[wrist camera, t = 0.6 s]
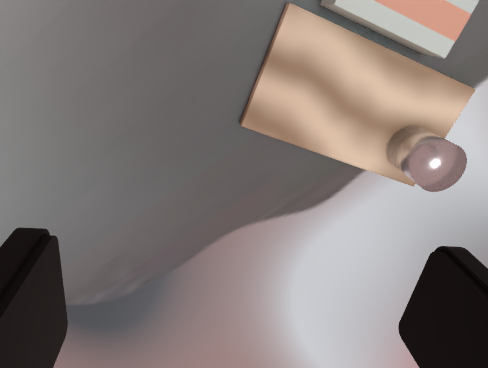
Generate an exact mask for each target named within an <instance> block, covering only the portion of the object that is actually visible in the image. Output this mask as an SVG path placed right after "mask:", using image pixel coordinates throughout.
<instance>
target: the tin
mask: <svg viewBox="0 0 488 368" xmlns="http://www.w3.org/2000/svg"><path fill="white" fill-rule="evenodd" d="M386 154H387V158H388V160H389V162H390V163H391V164H392V165H393V166H395V167H396V168H397V169H399V170H400V171H401V172H402V173H404V174H405V175H406V176H407V177H409V178H410V179H411V180H413V181H414V182H415V183H416V184H418V185H419V186H420V187H422V188H423V189H425V190H427V191H430V192H437V191H442V190H445V189H447V188H449V187H450V186H452V185H453V184H455V183H456V182H457V181H458V180H459V179H460V177H461V176H462V174H463V173H464V171H465V168H466V163H467V158H466V154H465V152H464V150H463V149H462V148H461V147H459V146H457V145H455V144H453V143H451V142H450V141H448V140H446V139H444V138H442V137H440V136H438V135H436V134H434V133H432V132H430V131H428V130H426V129H424V128H422V127H420V126H416V125H411V126H406V127H404V128H402V129H400V130H399V131H397V132H396V133H395V134H394V135H393V136H392V137H391V139H390V141H389V143H388V145H387V150H386Z"/></svg>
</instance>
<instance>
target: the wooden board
mask: <svg viewBox="0 0 488 368" xmlns="http://www.w3.org/2000/svg"><path fill="white" fill-rule="evenodd" d="M474 92H475V89H473V88H471V87H469V86H467V85H465V84H463V83H460V82H458V81H456V80H454V79H452V78H450V77H448V76H445V75H443V74H441V73H439V72H437V71H435V70H433V69H430V68H428V67H426V66H424V65H422V64H420V63H418V62H415V61H413V60H411V59H409V58H407V57H405V56H403V55H400V54H398V53H396V52H394V51H392V50H390V49H388V48H386V47H383V46H381V45H379V44H377V43H375V42H373V41H371V40H368V39H366V38H364V37H362V36H360V35H358V34H356V33H353V32H351V31H349V30H347V29H345V28H343V27H341V26H338V25H336V24H334V23H332V22H330V21H328V20H326V19H324V18H321V17H319V16H317V15H315V14H313V13H311V12H309V11H306V10H304V9H302V8H300V7H298V6H296V5H294V4H291V3H287V4H286V7H285V9H284V12H283V14H282V17H281V19H280V22H279V24H278V27H277V30H276V32H275V35H274V37H273V40H272V42H271V45H270V47H269V50H268V52H267V55H266V58H265V60H264V63H263V65H262V68H261V70H260V73H259V75H258V78H257V80H256V83H255V86H254V88H253V91H252V93H251V96H250V98H249V101H248V103H247V106H246V108H245V111H244V114H243V116H242V119H241V121H240V124H241V126H242V127H245V128H248V129H251V130H254V131H257V132H260V133H262V134H265V135H268V136H271V137H274V138H277V139H279V140H282V141H285V142H288V143H291V144H294V145H297V146H299V147H302V148H305V149H308V150H311V151H314V152H317V153H319V154H322V155H325V156H328V157H331V158H334V159H337V160H339V161H342V162H345V163H348V164H351V165H354V166H356V167H359V168H362V169H365V170H368V171H371V172H374V173H376V174H379V175H382V176H385V177H388V178H391V179H394V180H396V181H399V182H402V183H405V184H408V185H411V186H414V185H415V184H416V183H415V182H414V181H413V180H411V179H410V178H409V177H407V176H406V175H405V174H404V173H402V172H401V171H400V170H399V169H397V168H396V167H395V166H393V165H392V164H391V163H390V162H389V160H388V158H387V154H386V150H387V145H388V143H389V141H390V139H391V137H392V136H393V135H394V134H395V133H396V132H397V131H399V130H400V129H402V128H404V127H406V126H411V125H416V126H420V127H422V128H424V129H426V130H428V131H430V132H432V133H434V134H436V135H438V136H440V137H442V138H445V137H446V135H447V133H448V132H449V131H450V129H451V127H452V126H453V124H454V123H455V121H456V120H457V118H458V116H459V115H460V113H461V112H462V110H463V108H464V107H465V106H466V104H467V102H468V101H469V99H470V98H471V96H472V94H473V93H474Z"/></svg>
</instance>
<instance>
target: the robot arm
mask: <svg viewBox="0 0 488 368" xmlns="http://www.w3.org/2000/svg"><path fill="white" fill-rule="evenodd" d="M67 323H68V322H67V312H66V304H65V295H64V287H63V279H62V270H61V262H60V253H59V245H58V239H57V237H56V236H50V234H49V231H48V230H47V229H39V228H17V229H15V230H14V231H13V233H12V234H11V235H10V236H9V237H8V239H7V240H6V241H5V242H4V243H3V245H2V246H1V247H0V368H53V366H54V364H55V361H56V359H57V356H58V354H59V352H60V349H61V346H62V344H63V341H64V339H65V336H66V332H67ZM399 334H400V336H401V338H402V340H403V342H404V343H405V345H406V346H407V348H408V350H409V351H410V353H411V355H412V356H413V358H414V360H415V361H416V363H417V365H418V366H419V367H420V368H488V269H487V268H486V267H485V266H484V265H483V264H482V263H481V262H480V261H479V260H478V259H476V258H475V257H474V256H473V255H472V254H471V253H470V252H469V251H468V250H466V249H465V248H462V247H448V246H441V247H438V248H437V249H436V250H435V251H434V252H432V253H431V254H430V256H429V258H428V260H427V262H426V264H425V267H424V269H423V271H422V274H421V276H420V278H419V280H418V282H417V284H416V287H415V289H414V291H413V293H412V295H411V298H410V300H409V302H408V304H407V307H406V309H405V311H404V314H403V316H402V318H401V320H400V322H399Z"/></svg>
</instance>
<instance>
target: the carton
mask: <svg viewBox="0 0 488 368" xmlns="http://www.w3.org/2000/svg"><path fill="white" fill-rule="evenodd" d="M478 1H479V0H322V1H321V4H320V6H322V7H324V8H327V9H329V10H331V11H333V12H335V13H337V14H339V15H341V16H343V17H345V18H347V19H350V20H352V21H354V22H356V23H358V24H360V25H362V26H364V27H366V28H368V29H371V30H373V31H375V32H377V33H379V34H381V35H383V36H385V37H387V38H389V39H391V40H394V41H396V42H398V43H400V44H402V45H404V46H406V47H408V48H410V49H412V50H415V51H417V52H419V53H421V54H425V55H430V56H436V57H441V58H446V56H447V54H448V53H449V51H450V49H451V48H452V46H453V44H454V43H455V41H456V40H457V38H458V36H459V35H460V33H461V31H462V29H463V28H464V26H465V24H466V23H467V21H468V19H469V18H470V16H471V13H472V12H473V10H474V8H475V7H476V5H477V3H478Z"/></svg>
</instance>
